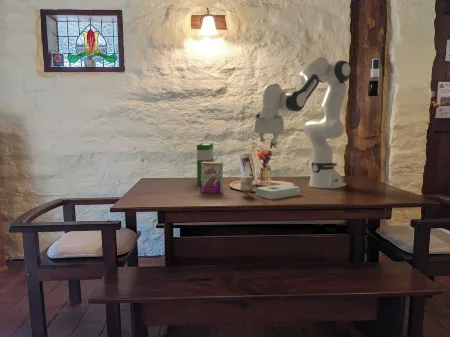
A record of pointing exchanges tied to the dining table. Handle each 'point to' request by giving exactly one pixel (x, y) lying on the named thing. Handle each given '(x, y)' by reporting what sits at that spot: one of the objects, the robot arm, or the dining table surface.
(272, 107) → the robot arm
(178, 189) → the dining table surface
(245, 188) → the peg
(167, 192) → the dining table surface
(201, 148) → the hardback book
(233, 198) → the dining table surface
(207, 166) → the candy bar box
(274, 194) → the board
